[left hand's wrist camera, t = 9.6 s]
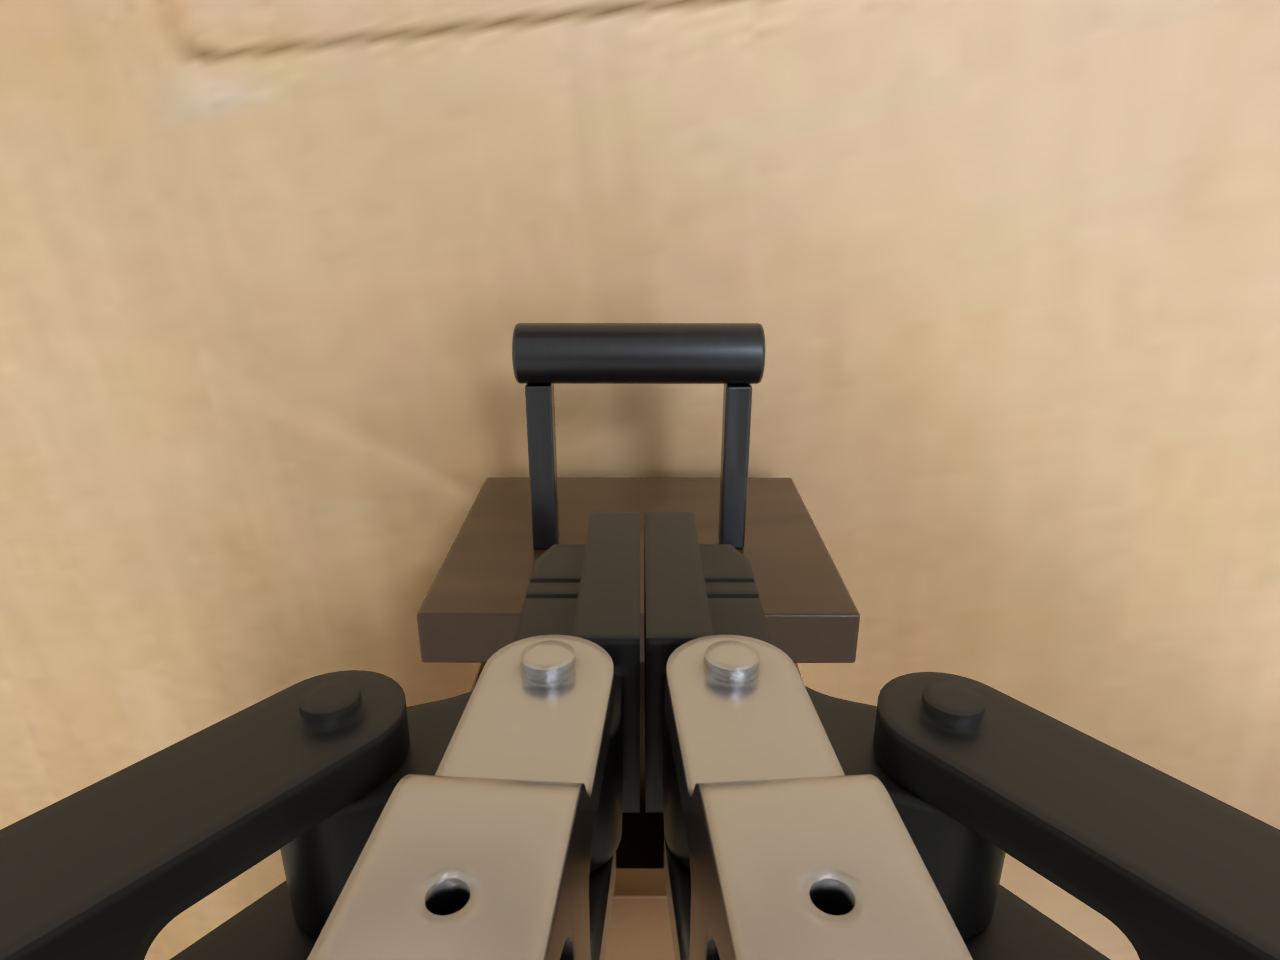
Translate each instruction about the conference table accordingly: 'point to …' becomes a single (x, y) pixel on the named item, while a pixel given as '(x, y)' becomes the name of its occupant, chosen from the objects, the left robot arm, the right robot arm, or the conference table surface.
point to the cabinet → (639, 917)
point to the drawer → (560, 511)
